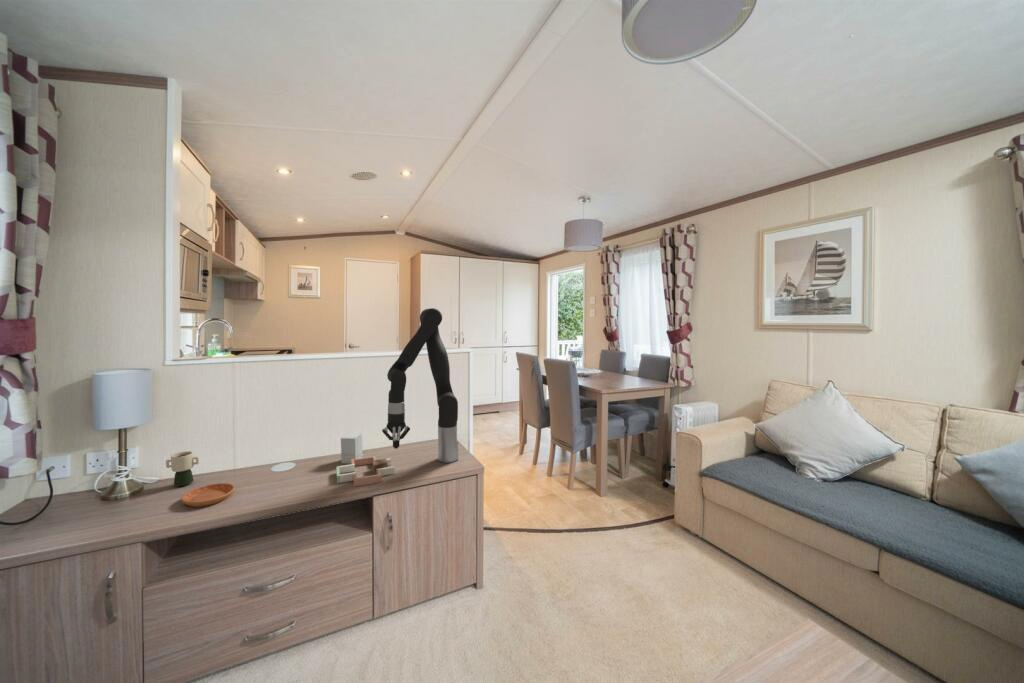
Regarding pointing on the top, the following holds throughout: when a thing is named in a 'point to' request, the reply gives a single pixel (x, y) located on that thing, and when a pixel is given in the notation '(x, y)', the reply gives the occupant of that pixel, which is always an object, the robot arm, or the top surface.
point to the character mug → (182, 467)
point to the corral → (365, 479)
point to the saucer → (208, 494)
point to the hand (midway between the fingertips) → (396, 448)
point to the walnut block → (379, 464)
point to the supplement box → (351, 447)
